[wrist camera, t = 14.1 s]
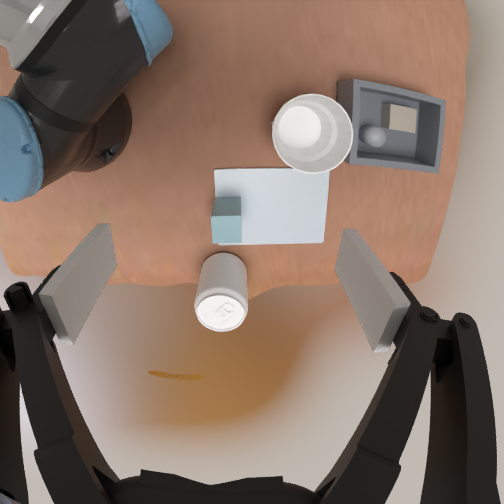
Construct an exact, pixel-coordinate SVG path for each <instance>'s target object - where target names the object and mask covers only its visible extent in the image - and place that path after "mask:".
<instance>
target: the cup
mask: <svg viewBox="0 0 504 504" xmlns="http://www.w3.org/2000/svg"><path fill="white" fill-rule="evenodd" d="M271 123H272V138H273V142H274V147H275V149H276V151H277V153H278V154H279V156H280V158H281V159H282V160H283V161H284V162H285V163H286V164H287V165H288V166H290V167H292V168H293V169H295V170H297V171H300V172H303V173H306V174H319V173H324V172H328V171H330V170H332V169H334V168H336V167H337V166H338V165H339V164H340V163H342V162H343V161H344V159H345V158H346V156H347V155H348V153H349V151H350V149H351V146H352V142H353V128H352V123H351V120H350V118H349V116H348V114H347V112H346V111H345V110H344V109H343V107H342V106H341V105H340V104H338V103H337V102H336V101H334V100H333V99H331V98H329V97H326V96H324V95H319V94H305V95H300V96H298V97H295V98H293V99H291V100H289V101H288V102H287V103H285V104H283V105H282V108H281V109H280V111H279V112H278V114H277V115H276V117H275V118H274V120H273V121H272V122H271Z"/></svg>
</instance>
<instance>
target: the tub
mask: <svg viewBox="0 0 504 504" xmlns="http://www.w3.org/2000/svg"><path fill="white" fill-rule="evenodd" d="M337 103H338V104H340V105H341V106H342V107H343V109H344V110H345V111H346V112H347V114H348V116H349V118H350V120H351V123H352V128H353V142H352V146H351V149H350V151H349V153H348V155H347V156H346V158H345V159H344V161H345V162H347V163H348V164H354V165H367V166H379V167H389V168H398V169H407V170H415V171H423V172H430V173H437V174H438V173H439V166H440V159H441V151H442V143H443V133H444V121H445V105H446V101H445V100H442V99H439V98H436V97H432V96H429V95H425V94H422V93H418V92H414V91H411V90H407V89H402V88H398V87H394V86H389V85H385V84H380V83H375V82H369V81H364V80H358V79H349V80H344V81H338V82H337Z"/></svg>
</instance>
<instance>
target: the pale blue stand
mask: <svg viewBox="0 0 504 504" xmlns="http://www.w3.org/2000/svg"><path fill="white" fill-rule="evenodd" d="M329 173H330V171H328V172H324V173H319V174H306V173H303V172H300V171H297V170H295V169H293V168H227V169H214V178H215V197H216V198H215V202H214V206H213V210H212V214H211V226H212V240H213V243H218V244H219V245H252V244H295V243H323V238H324V229H325V219H326V209H327V198H328V186H329Z"/></svg>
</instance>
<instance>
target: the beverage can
mask: <svg viewBox="0 0 504 504" xmlns="http://www.w3.org/2000/svg"><path fill="white" fill-rule="evenodd" d="M194 306H195V312H196V314H197V317H198V319H199V321H200V322H201V323H202V324H203V325H204V326H205V327H207V328H209V329H211V330H214V331H229V330H233V329H235V328H237V327H238V326H239V325H240V324H241V323H242V322H243V320H244V318H245V317H246V315H247V312H248V296H247V271H246V267H245V264H244V263H243V261H242V260H241V259H240V258H238V257H237V256H235V255H233V254H229V253H217V254H214V255H212V256H210V257H209V258H207V259H206V260H205V262H204V263H203V265H202V269H201V274H200V278H199V283H198V288H197V294H196V299H195V305H194Z"/></svg>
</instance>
